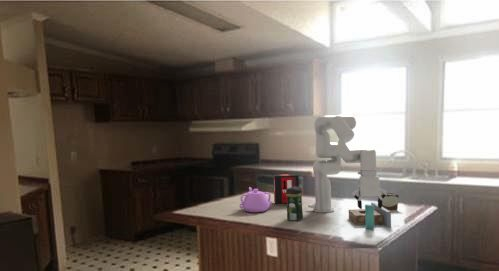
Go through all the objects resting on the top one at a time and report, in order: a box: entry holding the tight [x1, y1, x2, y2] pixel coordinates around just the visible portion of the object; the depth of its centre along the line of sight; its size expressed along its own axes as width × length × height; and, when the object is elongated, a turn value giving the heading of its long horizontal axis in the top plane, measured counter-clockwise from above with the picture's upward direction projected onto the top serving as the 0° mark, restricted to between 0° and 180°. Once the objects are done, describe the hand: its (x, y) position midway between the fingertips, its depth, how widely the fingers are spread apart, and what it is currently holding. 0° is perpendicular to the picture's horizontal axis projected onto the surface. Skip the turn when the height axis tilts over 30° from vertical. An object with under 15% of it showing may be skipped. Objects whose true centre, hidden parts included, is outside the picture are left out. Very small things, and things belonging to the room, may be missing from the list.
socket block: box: [348, 208, 383, 226], centre depth 186 cm, size 14×14×5 cm
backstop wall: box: [370, 202, 392, 228], centre depth 186 cm, size 2×24×8 cm, turn 179°
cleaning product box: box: [273, 173, 300, 205], centre depth 241 cm, size 16×9×20 cm, turn 90°
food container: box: [381, 192, 400, 211], centre depth 215 cm, size 12×6×10 cm, turn 84°
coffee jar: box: [286, 186, 304, 222], centre depth 196 cm, size 10×8×19 cm
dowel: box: [364, 203, 375, 231], centre depth 172 cm, size 4×4×12 cm
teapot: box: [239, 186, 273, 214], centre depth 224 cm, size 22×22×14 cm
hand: (370, 208), depth 172 cm, fingers open, 9 cm apart
